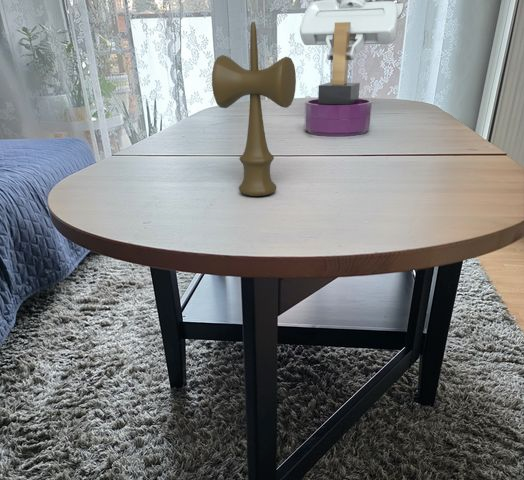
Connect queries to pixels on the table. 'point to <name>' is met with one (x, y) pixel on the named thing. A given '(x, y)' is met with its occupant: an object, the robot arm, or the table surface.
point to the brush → (339, 72)
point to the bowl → (337, 118)
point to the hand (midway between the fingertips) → (339, 57)
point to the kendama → (254, 108)
